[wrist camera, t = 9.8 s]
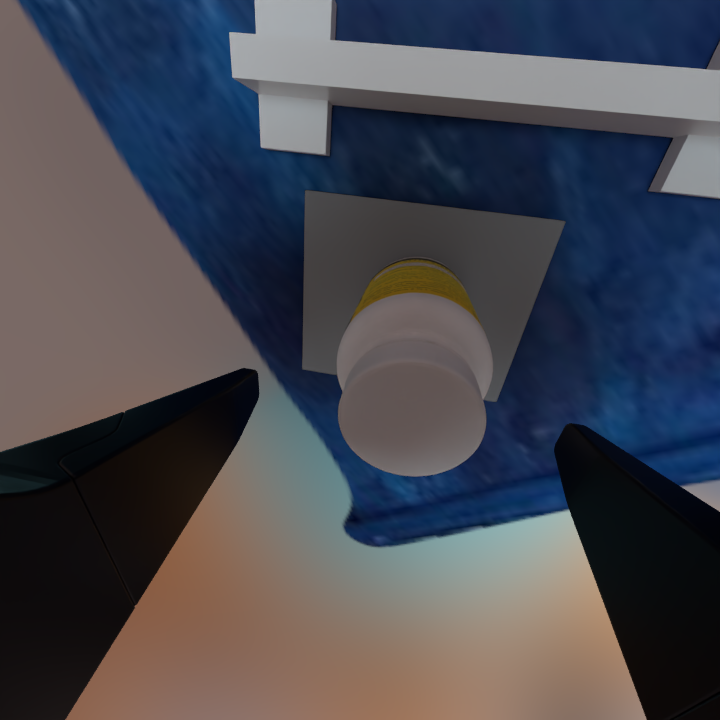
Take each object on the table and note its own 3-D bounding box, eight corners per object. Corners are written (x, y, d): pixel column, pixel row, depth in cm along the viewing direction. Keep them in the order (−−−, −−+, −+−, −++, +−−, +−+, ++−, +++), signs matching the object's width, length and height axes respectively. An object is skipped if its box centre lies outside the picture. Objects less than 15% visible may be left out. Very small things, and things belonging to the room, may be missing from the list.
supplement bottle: (352, 266, 16) (286, 348, 8) (460, 244, 15) (519, 312, 7) (374, 358, 19) (340, 497, 10) (469, 345, 18) (521, 491, 9)
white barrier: (818, 37, 11) (945, -11, 8) (723, 199, 13) (798, 201, 11) (263, 0, 13) (223, -51, 10) (268, 149, 15) (237, 140, 12)
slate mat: (561, 220, 15) (565, 221, 14) (494, 397, 19) (496, 402, 19) (308, 190, 16) (305, 189, 15) (304, 365, 20) (302, 369, 20)
